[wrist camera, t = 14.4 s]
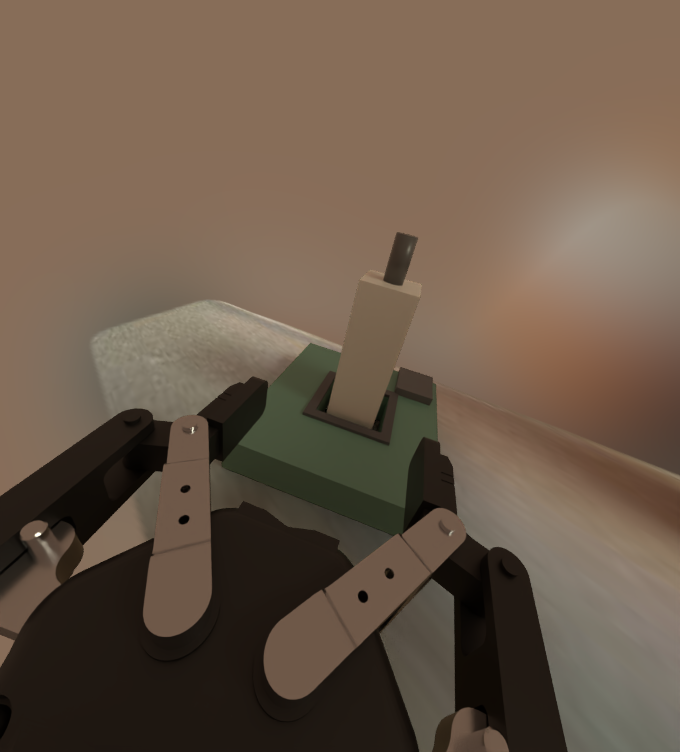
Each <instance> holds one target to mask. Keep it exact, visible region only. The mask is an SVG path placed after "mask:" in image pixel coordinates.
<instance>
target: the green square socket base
mask: <svg viewBox="0 0 680 752" xmlns="http://www.w3.org/2000/svg"><path fill="white" fill-rule="evenodd" d="M340 356H341V353H339V352H336V351H333V350H330V349H327V348H324V347H321V346H318V345H315V344H312V343H310V344H309V345H308V346H307V347H306V348H305V349H304V351H303V352H302V353H301V354H300V355H299V356H298V357H297V358H296V359H295V360H294V361H293V362H292V363H291V364H290V365H289V367H288V368H287V369H286V370H285V371H284V372H283V373H282V374H281V375H280V376H279V377H278V378H277V379H276V380H275V381H274V383H273V384H272V385H271V386H270V387H269V388H268V389H267V400H266V407H265V410H264V412H263V414H262V416H261V417H260V418H259V420H258V421H257V422H256V423H255V424H254V426H253V427H252V428H251V429H250V430H249V431H248V433H247V434H246V435H245V436H244V437H243V439H242V440H241V441H240V442H239V443H238V445H237V446H236V447H235V448H234V449H233V450H232V452H231V453H230V454H229V455H228V456H227V458H226V459H225V460H224V461H223V462H222V467H223V468H226V469H228V470H231V471H233V472H236V473H238V474H241V475H243V476H246V477H248V478H251V479H253V480H256V481H258V482H261V483H263V484H266V485H268V486H271V487H273V488H276V489H278V490H281V491H284V492H286V493H289V494H291V495H294V496H296V497H299V498H301V499H304V500H306V501H309V502H311V503H314V504H316V505H319V506H321V507H324V508H326V509H329V510H331V511H334V512H336V513H339V514H341V515H344V516H346V517H349V518H351V519H354V520H356V521H359V522H361V523H364V524H366V525H369V526H371V527H374V528H376V529H379V530H381V531H384V532H386V533H389V534H391V535H394V536H395V535H396V534H398V533H400V534H401V535H402V534H403V525H404V513H405V502H406V490H407V479H408V469H409V465H410V462H411V459H412V457H413V455H414V453H415V451H416V449H417V447H418V445H419V443H420V441H421V439H422V438H423V437H426V438H429V439H432V440H434V441H437V442H438V438H437V403H436V384H434V383H433V378H432V377H429V376H426V375H423V374H420V373H417V372H414V371H411V370H408V369H405V368H402V367H400V370H399V372H397V371H394V370H393V373H392V375H391V378H390V381H389V383H388V386H387V389H386V392H385V394H384V397H383V400H382V402H381V405H380V408H379V410H378V413H377V416H376V420H379V421H380V423H379V427H378V431H375V430H372V429H369V428H366V427H364V426H361V425H358V424H355V423H352V422H350V421H347V420H344V419H341V418H338V417H336V416H333V415H330V414H327V413H324V410H325V409H326V407H327V405H328V403H329V401H330V397H331V393H332V389H333V385H334V381H335V377H336V372H337V368H338V364H339V360H340Z"/></svg>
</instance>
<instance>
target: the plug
mask: <svg viewBox="0 0 680 752" xmlns="http://www.w3.org/2000/svg"><path fill="white" fill-rule="evenodd" d="M417 240H418V237H415V236H412V235H409V234H404V233H400V232H397V234H396V237H395V240H394V244H393V247H392V251H391V254H390V257H389V261H388V265H387V268H386V272H385V274H383V273H381V272H377V271H373V270H369V271H368V272H367V273H366V274H365V275H364V276H363V277H362V278H361V279H360V280H359V283H358V287H357V291H356V295H355V299H354V303H353V308H352V311H351V316H350V320H349V324H348V328H347V332H346V336H345V340H344V344H343V348H342V352H341V356H340V360H339V364H338V368H337V372H336V377H335V381H334V385H333V389H332V393H331V397H330V401H329V405H328V409H327V414H330V415H333V416H336V417H338V418H341V419H344V420H347V421H350V422H352V423H355V424H358V425H361V426H364V427H366V428H369V429H372V427H373V424H374V421H375V419H376V416H377V413H378V410H379V408H380V405H381V402H382V400H383V397H384V394H385V392H386V389H387V386H388V383H389V381H390V378H391V375H392V373H393V370H394V367H395V364H396V362H397V359H398V356H399V354H400V351H401V348H402V345H403V343H404V340H405V337H406V335H407V332H408V329H409V326H410V324H411V321H412V318H413V316H414V313H415V310H416V308H417V305H418V302H419V299H420V296H421V288H422V284H419V283H415V282H411V281H408V280H405V277H406V274H407V271H408V267H409V264H410V261H411V258H412V255H413V252H414V249H415V246H416V243H417Z"/></svg>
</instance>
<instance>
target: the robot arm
mask: <svg viewBox="0 0 680 752" xmlns="http://www.w3.org/2000/svg"><path fill="white" fill-rule="evenodd" d="M267 389H268V382H267V381H265V380H262V379H259V378H256V377H251V378H250V379H249V380H248V381H247V382H246V383H245V384H243V383H237V384H234V385H232V386H230V387H229V388H227V389H226V390H225V391H224V392H223V393H222V394H220V395H219V396H218V398H216V399H215V400H213V401H212V402H211V403H210V404H209V405H208V406H206V407H205V408H204V409H203V410H202V411H201V412H199V413H198V414H197V415H187V416H183V417H181V418H179V419H177V420H176V421H174V422H167V421H157V420H153V415H152V413H151V412H149V411H148V410H145V409H130V410H126V411H123V412H121V413H119V414H117V415H116V416H115V417H113V418H112V419H110V420H109V421H107V422H106V423H104V424H103V425H102V426H100V427H99V428H97V429H96V430H95V431H93V432H92V433H90V434H89V435H87V436H86V437H85V438H83V439H82V440H80V441H79V442H77V443H76V444H74V445H73V446H72V447H70V448H69V449H67V450H66V451H64V452H63V453H62V454H60V455H59V456H57V457H56V458H54V459H53V460H52V461H50V462H49V463H47V464H46V465H44V466H43V467H41V468H40V469H39V470H37V471H36V472H34V473H33V474H32V475H30V476H29V477H27V478H26V479H24V480H23V481H22V482H20V483H19V484H17V485H16V486H14V487H13V488H11V489H10V490H9V491H7V492H6V493H4V494H3V495H1V496H0V635H2V636H5V637H7V638H10V639H13V640H15V642H14V644H13V646H12V648H11V650H10V652H9V654H8V655H7V657H6V659H5V661H4V663H3V664H2V666H1V667H0V752H419V749H418V744H417V740H416V736H415V733H414V730H413V727H412V724H411V721H410V718H409V716H408V713H407V710H406V707H405V704H404V702H403V699H402V696H401V693H400V690H399V687H398V685H397V682H396V679H395V676H394V673H393V671H392V668H391V665H390V662H389V659H388V657H387V654H386V651H385V648H384V645H383V642H382V640H381V637H380V633H381V632H382V631H383V630H384V629H385V628H386V626H387V625H388V624H389V623H390V622H391V621H392V620H393V619H394V618H395V617H396V616H397V615H398V614H399V613H400V611H401V610H402V609H403V608H404V607H405V606H406V605H407V604H408V603H409V602H410V601H411V600H412V599H413V598H414V597H415V596H416V595H417V594H418V593H419V592H420V591H421V590H422V589H423V587H424V586H425V585H426V584H427V583H428V582H429V581H430V580H431V579H433V580H435V581H436V582H437V583H438V584H440V585H441V586H442V587H443V588H445V589H446V590H447V591H448V592H450V593H451V594H452V595H453V596H454V634H455V713H453V714H451V715H448V716H446V717H445V718H443V719H442V720H441V721H440V723H439V725H438V727H437V730H436V734H435V741H434V747H433V750H432V752H568V751H567V747H566V742H565V738H564V733H563V729H562V724H561V720H560V715H559V710H558V706H557V701H556V697H555V692H554V688H553V683H552V679H551V674H550V670H549V665H548V660H547V656H546V651H545V647H544V642H543V638H542V633H541V629H540V624H539V619H538V615H537V610H536V606H535V601H534V597H533V592H532V588H531V583H530V578H529V575H528V572H527V570H526V568H525V566H524V565H523V564H522V562H521V561H520V560H519V559H518V558H517V557H516V556H515V555H514V554H513V553H511V552H510V551H508V550H506V549H504V548H501V547H494V548H492V549H491V550H490V551H489V550H488V549H486V548H485V547H484V546H482V545H481V544H479V543H478V542H476V541H475V540H474V539H472V538H471V537H470V536H469V535H468V534H467V533H466V530H465V527H464V524H463V523H462V521H461V520H460V519H459V517H458V516H457V508H456V497H455V486H454V478H453V476H454V475H453V466H452V464H451V462H450V460H449V459H448V457H447V456H444V455H441V454H440V443H439V442H437V441H434V440H432V439H429V438H426V437H423V438H422V439H421V441H420V443H419V445H418V447H417V449H416V451H415V453H414V455H413V457H412V459H411V462H410V465H409V469H408V479H407V490H406V502H405V513H404V525H403V534H402V535H401V534H400V533H398V534H396V535H395V536H393V537H392V538H391V539H389V540H388V541H387V542H386V543H384V544H383V545H382V546H380V547H379V548H378V549H376V550H375V551H374V552H373V553H371V554H370V555H369V556H367V557H366V558H365V559H364V560H362V561H361V562H360V563H358V564H357V565H356V566H353V565H352V563H351V562H350V561H349V559H348V558H347V557H346V556H345V555H344V554H343V553H342V552H341V551H340V550H338V549H337V548H338V545H339V540H337V539H335V538H332V537H330V536H327V535H325V534H322V533H320V532H317V531H315V530H307V529H299V528H292V527H287V526H286V525H284V524H283V523H282V522H280V521H279V520H278V519H277V518H275V517H274V516H273V515H271V514H270V513H269V512H267V511H266V510H264V509H261V508H259V507H256V506H254V505H252V504H249V503H247V502H244V501H243V502H242V504H241V505H240V507H239V508H225V509H219V510H215V511H212V512H211V488H210V464H211V462H212V461H213V460H214V459H217V460H219V461H222V462H223V461H224V460H225V459H226V458H227V456H228V455H229V454H230V453H231V452H232V450H233V449H234V448H235V447H236V446H237V445H238V443H239V442H240V441H241V440H242V439H243V437H244V436H245V435H246V434H247V433H248V431H249V430H250V429H251V428H252V427H253V426H254V424H255V423H256V422H257V421H258V420H259V418H260V417H261V416H262V414H263V412H264V410H265V407H266V400H267ZM155 471H160V472H163V473H162V481H161V489H160V497H159V505H158V514H157V522H156V530H155V538H153V539H150V540H148V541H146V542H144V543H142V544H140V545H138V546H136V547H133V548H131V549H129V550H127V551H125V552H122V553H120V554H118V555H116V556H114V557H112V558H110V559H108V560H105V561H103V562H101V563H99V564H97V565H95V566H92V567H90V568H88V569H86V570H84V571H82V572H80V573H78V574H76V575H74V576H73V577H71V578H70V576H71V575H72V574H73V571H74V569H75V568H76V567H77V566H78V564H79V563H80V561H81V559H82V556H83V552H84V551H83V550H84V549H83V545H84V544H85V543H86V542H87V541H88V540H89V538H90V537H91V536H92V535H93V534H94V533H95V532H96V531H97V530H98V529H99V528H100V527H101V526H102V525H103V524H104V523H105V522H106V521H107V520H108V519H109V518H110V517H111V516H112V515H113V514H114V513H115V512H116V511H117V510H118V508H120V507H121V506H122V505H123V504H124V503H125V501H127V500H128V499H129V498H130V496H131V495H132V494H133V493H134V492H135V491H136V490H137V489H138V488H139V487H140V486H141V485H142V484H143V483H144V482H145V481H146V480H147V479H148V478H149V477H150V476H151V475H152V474H153V473H154V472H155Z"/></svg>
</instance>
